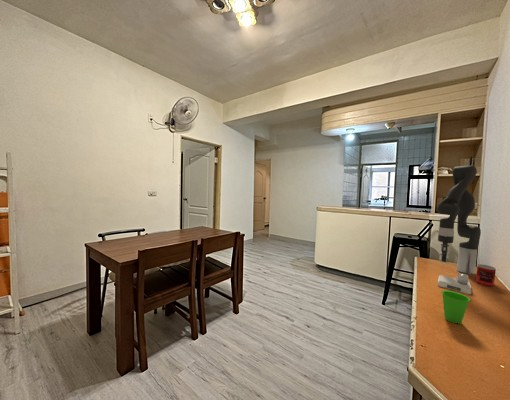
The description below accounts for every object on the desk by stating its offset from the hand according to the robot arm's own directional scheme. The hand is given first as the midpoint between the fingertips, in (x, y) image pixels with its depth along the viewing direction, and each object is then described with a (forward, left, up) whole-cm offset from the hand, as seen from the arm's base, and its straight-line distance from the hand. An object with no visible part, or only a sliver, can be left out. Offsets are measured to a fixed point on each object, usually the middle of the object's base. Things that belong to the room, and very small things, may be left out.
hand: (443, 260), depth 141 cm
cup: (+63, +6, -11) cm, 64 cm away
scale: (+14, +6, -11) cm, 18 cm away
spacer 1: (0, 0, 0) cm, 0 cm away
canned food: (-7, +20, -11) cm, 24 cm away
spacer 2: (+14, +9, -8) cm, 18 cm away
